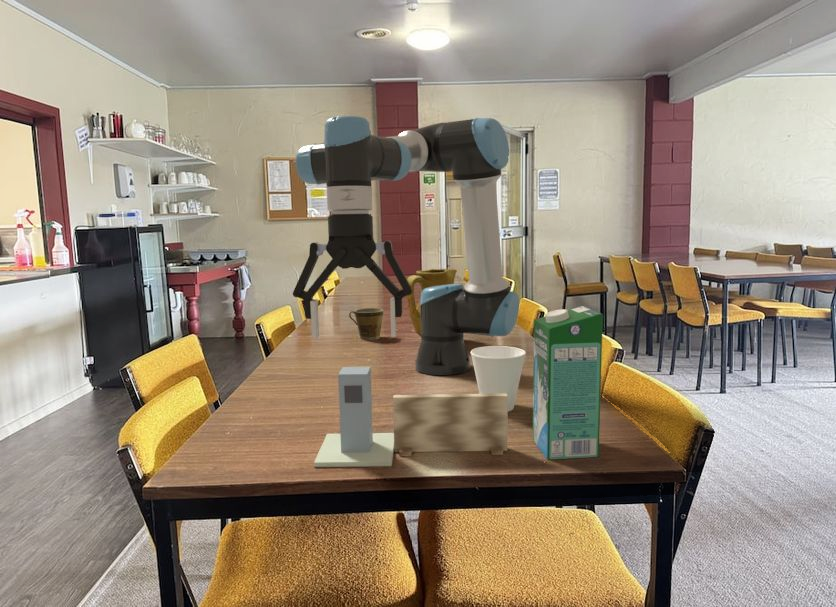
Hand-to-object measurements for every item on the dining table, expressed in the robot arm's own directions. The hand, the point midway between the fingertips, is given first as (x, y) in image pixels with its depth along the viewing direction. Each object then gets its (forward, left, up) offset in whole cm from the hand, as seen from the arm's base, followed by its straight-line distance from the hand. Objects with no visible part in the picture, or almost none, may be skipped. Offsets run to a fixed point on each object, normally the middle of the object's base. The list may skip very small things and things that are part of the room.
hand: (354, 336), depth 99 cm
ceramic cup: (-88, +47, -21) cm, 102 cm away
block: (0, 0, -20) cm, 20 cm away
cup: (-4, +36, -21) cm, 42 cm away
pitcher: (-66, +62, -21) cm, 93 cm away
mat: (0, 0, -21) cm, 21 cm away
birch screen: (+9, +14, -21) cm, 26 cm away
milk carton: (+20, +31, -21) cm, 42 cm away
